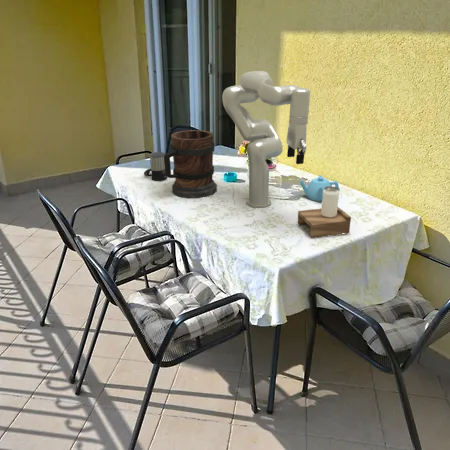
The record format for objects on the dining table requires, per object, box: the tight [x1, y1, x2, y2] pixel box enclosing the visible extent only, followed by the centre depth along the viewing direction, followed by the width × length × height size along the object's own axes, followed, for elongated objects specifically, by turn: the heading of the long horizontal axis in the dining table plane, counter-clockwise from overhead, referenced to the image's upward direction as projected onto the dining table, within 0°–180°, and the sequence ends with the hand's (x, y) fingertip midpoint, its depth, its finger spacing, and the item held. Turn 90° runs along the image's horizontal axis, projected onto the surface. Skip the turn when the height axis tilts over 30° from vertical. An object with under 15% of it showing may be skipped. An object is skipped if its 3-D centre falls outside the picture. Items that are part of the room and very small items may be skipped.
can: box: [321, 185, 340, 218], centre depth 180 cm, size 6×6×12 cm
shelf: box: [297, 206, 352, 239], centre depth 183 cm, size 15×17×8 cm
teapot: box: [299, 175, 341, 202], centre depth 216 cm, size 15×15×11 cm
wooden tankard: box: [164, 129, 218, 200], centre depth 222 cm, size 24×30×30 cm
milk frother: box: [143, 151, 168, 182], centre depth 248 cm, size 14×16×15 cm
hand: (295, 160), depth 182 cm, fingers open, 9 cm apart
